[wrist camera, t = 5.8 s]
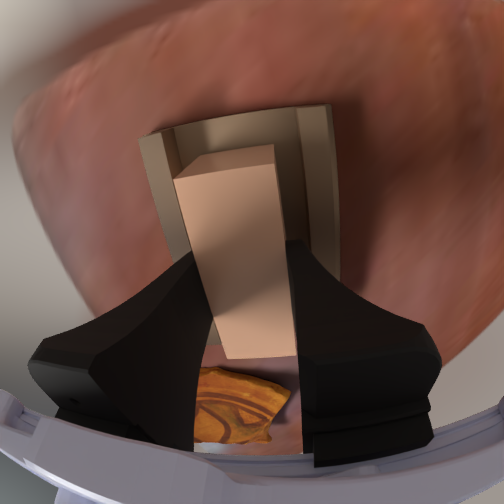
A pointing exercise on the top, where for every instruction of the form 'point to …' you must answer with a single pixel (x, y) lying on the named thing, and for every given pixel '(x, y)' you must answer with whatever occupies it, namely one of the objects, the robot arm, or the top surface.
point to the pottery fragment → (235, 407)
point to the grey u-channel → (288, 164)
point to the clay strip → (240, 248)
